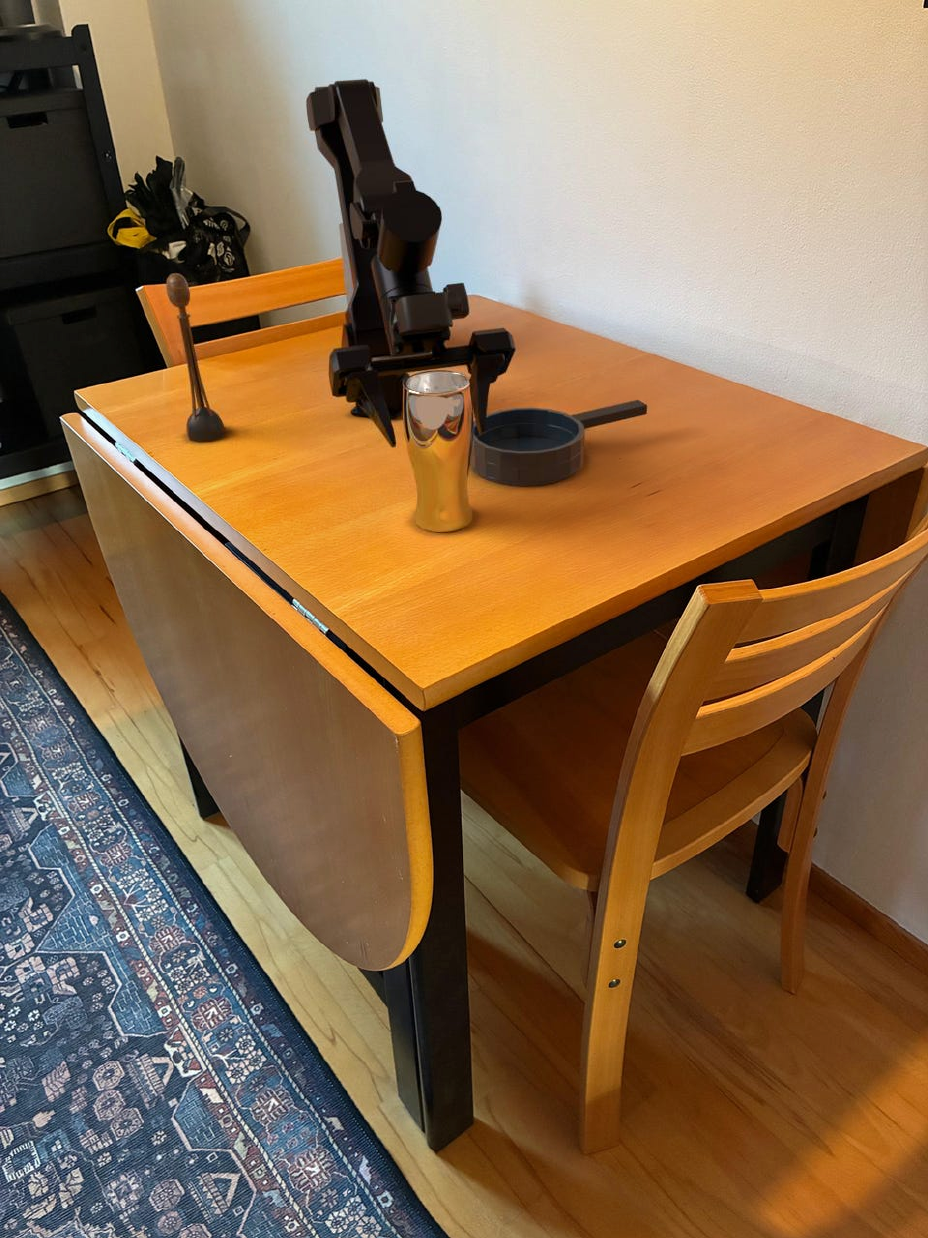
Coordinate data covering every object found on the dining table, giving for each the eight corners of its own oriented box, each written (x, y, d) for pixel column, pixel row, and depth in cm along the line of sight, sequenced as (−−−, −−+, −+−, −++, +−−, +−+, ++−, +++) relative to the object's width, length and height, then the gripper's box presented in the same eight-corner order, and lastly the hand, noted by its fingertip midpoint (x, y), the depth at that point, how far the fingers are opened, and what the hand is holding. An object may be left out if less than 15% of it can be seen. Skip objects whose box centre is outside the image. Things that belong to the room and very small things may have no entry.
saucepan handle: (578, 430, 113) (578, 420, 113) (569, 424, 115) (569, 415, 114) (646, 414, 117) (647, 404, 116) (637, 408, 118) (637, 399, 118)
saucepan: (454, 478, 110) (453, 446, 108) (489, 433, 121) (489, 403, 118) (567, 492, 106) (568, 458, 104) (594, 444, 117) (595, 412, 114)
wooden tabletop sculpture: (183, 428, 126) (150, 269, 115) (219, 421, 127) (189, 264, 116) (192, 444, 121) (158, 280, 110) (228, 437, 123) (198, 275, 111)
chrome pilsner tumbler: (428, 541, 98) (419, 399, 90) (400, 513, 104) (389, 377, 95) (488, 524, 101) (485, 385, 93) (457, 498, 106) (452, 364, 98)
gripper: (318, 265, 91) (351, 418, 88) (508, 244, 95) (545, 391, 92) (317, 325, 102) (345, 464, 99) (487, 305, 105) (520, 438, 102)
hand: (438, 439), depth 98 cm, fingers open, 9 cm apart
